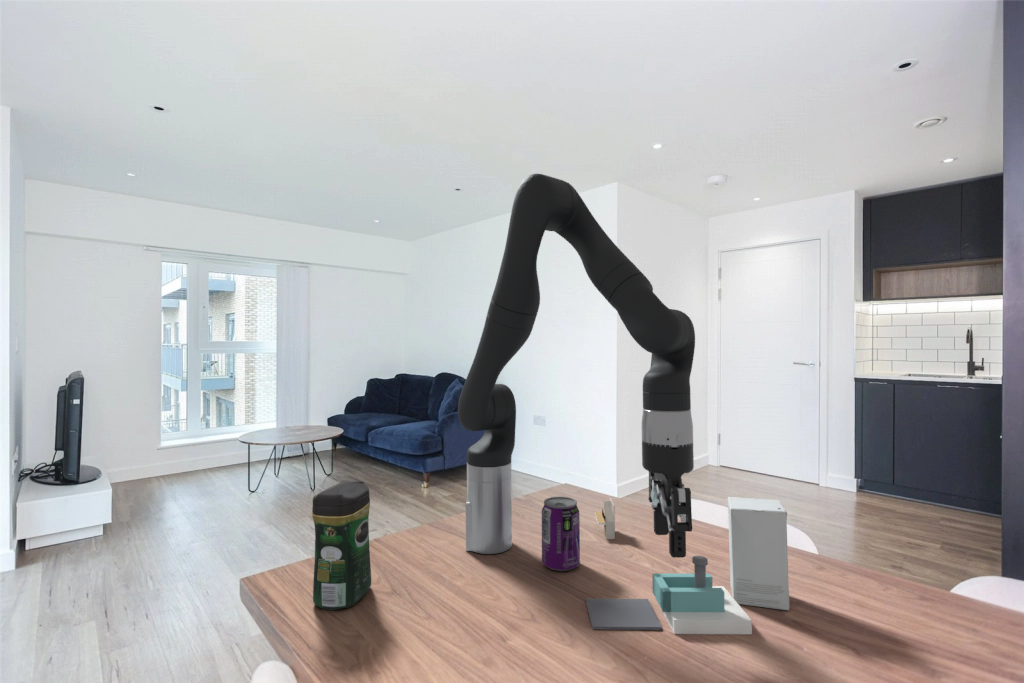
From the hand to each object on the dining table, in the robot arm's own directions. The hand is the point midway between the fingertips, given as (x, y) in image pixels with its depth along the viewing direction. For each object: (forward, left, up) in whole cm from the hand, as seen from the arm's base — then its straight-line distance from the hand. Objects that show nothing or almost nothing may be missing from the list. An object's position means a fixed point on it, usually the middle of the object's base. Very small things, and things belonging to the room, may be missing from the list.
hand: (669, 544), depth 76 cm
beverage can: (-15, +17, -11) cm, 26 cm away
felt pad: (-7, 0, -11) cm, 13 cm away
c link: (+3, 0, -9) cm, 9 cm away
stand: (+5, 0, -11) cm, 12 cm away
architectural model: (-4, +33, -11) cm, 35 cm away
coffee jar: (-52, +5, -11) cm, 54 cm away
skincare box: (+16, +5, -11) cm, 20 cm away
